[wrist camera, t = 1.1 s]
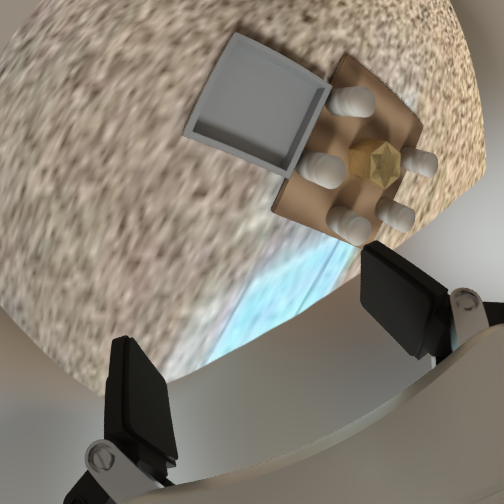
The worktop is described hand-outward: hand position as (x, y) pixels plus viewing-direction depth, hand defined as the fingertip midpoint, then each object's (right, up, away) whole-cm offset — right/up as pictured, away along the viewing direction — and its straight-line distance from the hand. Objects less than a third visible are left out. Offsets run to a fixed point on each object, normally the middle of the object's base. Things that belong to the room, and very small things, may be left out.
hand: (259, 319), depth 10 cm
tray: (0, +21, +21) cm, 29 cm away
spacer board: (+16, +17, +28) cm, 37 cm away
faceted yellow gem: (+17, +16, +27) cm, 36 cm away
